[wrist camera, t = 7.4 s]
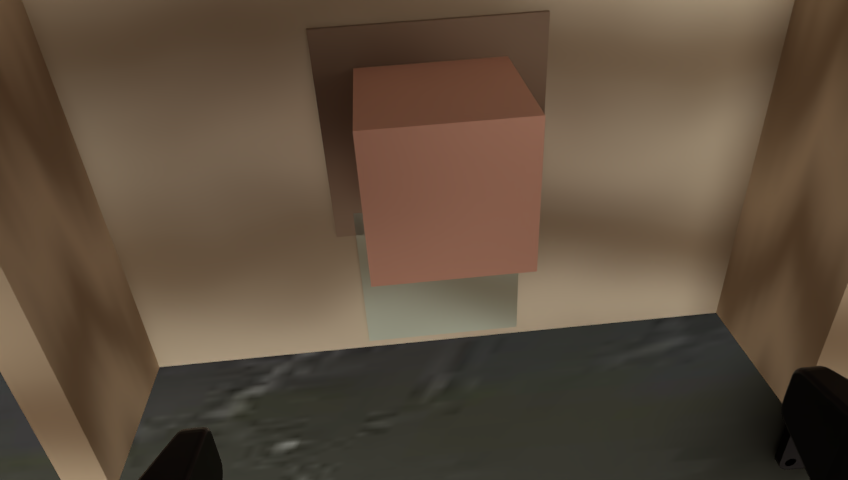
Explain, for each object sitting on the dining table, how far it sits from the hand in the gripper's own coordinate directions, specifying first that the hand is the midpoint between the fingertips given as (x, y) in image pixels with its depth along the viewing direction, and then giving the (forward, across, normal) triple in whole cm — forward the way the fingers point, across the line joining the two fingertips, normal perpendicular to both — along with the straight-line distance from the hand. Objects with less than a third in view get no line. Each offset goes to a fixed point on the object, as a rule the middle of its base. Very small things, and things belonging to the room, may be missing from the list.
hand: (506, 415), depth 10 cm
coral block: (+10, 0, 0) cm, 11 cm away
